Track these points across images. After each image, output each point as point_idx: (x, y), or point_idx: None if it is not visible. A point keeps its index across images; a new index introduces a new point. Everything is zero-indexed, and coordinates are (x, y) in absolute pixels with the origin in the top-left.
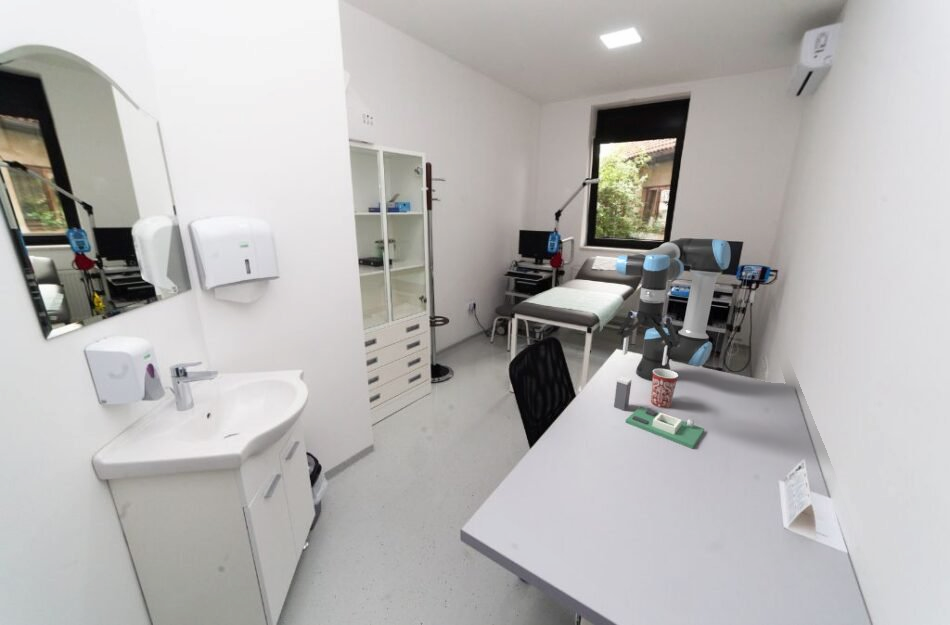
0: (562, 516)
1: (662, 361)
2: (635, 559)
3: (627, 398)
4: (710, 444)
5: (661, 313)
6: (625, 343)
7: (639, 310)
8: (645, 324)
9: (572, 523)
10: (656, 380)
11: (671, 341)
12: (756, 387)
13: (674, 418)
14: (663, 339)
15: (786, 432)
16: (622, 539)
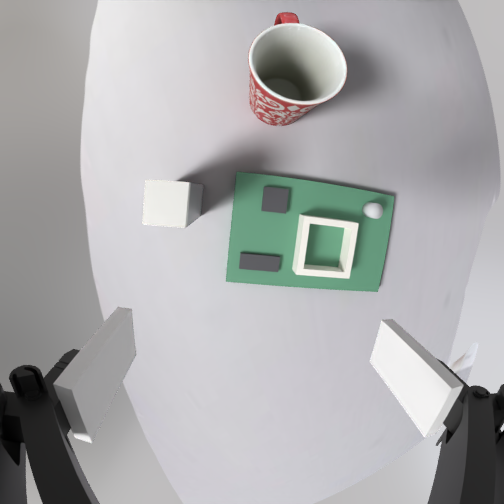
0: (241, 490)
1: (378, 373)
2: (313, 485)
3: (197, 199)
4: (402, 246)
5: None
6: (106, 409)
7: None
8: None
9: (253, 490)
10: (272, 101)
11: (489, 411)
12: None
13: (342, 227)
14: (438, 477)
15: (479, 113)
16: (299, 481)
